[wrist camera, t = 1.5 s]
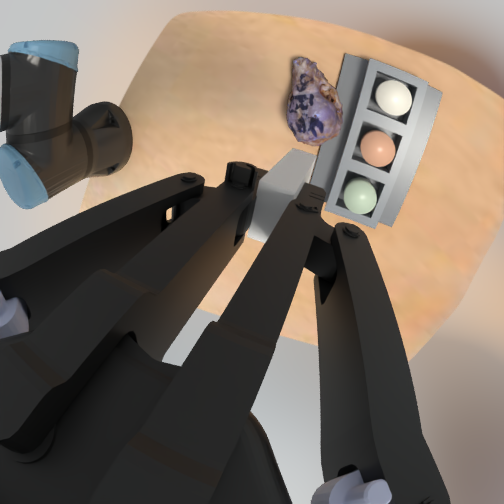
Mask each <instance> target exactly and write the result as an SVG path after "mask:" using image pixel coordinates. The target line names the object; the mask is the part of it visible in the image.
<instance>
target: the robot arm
mask: <svg viewBox="0 0 504 504" xmlns="http://www.w3.org/2000/svg"><path fill="white" fill-rule="evenodd" d="M78 54H79V49H78V47H77V45H76V44H74V43H72V42H67V41H55V40H39V41H26V42H16V43H13V44H12V45H11V46H10V48H9V50H8V54H4V55H0V132H2V131H5V130H6V144H3V145H2V146H1V147H0V179H1V181H2V183H3V186H4V188H5V190H6V191H7V193H8V195H9V196H10V198H11V199H12V200H13V201H14V202H15V203H16V204H17V205H18V206H19V207H21V208H23V209H32V208H34V207H36V206H37V205H40V204H42V203H44V202H46V201H48V199H50V198H51V197H53V196H55V195H56V194H58V193H60V192H61V191H63V190H65V189H67V188H68V187H70V186H72V185H74V184H75V183H77V182H79V181H81V180H83V179H85V178H88V177H99V176H108V175H111V174H113V173H115V172H117V171H119V170H120V169H122V168H123V167H124V166H125V165H126V163H127V162H128V160H129V157H130V154H131V150H132V132H131V127H130V124H129V121H128V119H127V117H126V115H125V114H124V112H123V111H122V110H121V109H120V108H119V107H118V106H117V105H115V104H113V103H110V102H99V103H95V104H92V105H90V106H88V107H86V108H85V109H84V110H82V111H81V112H80V113H78V114H77V115H75V116H74V117H73V103H74V92H75V83H76V75H77V72H78V68H77V64H78ZM316 157H317V155H314V154H310V153H307V152H304V151H301V150H298V149H294V148H293V149H292V150H291V151H289V152H288V153H287V154H286V155H285V156H284V157H283V158H282V159H281V160H280V161H279V162H278V163H277V164H276V165H275V166H274V167H273V168H272V169H271V170H270V171H266V170H263V169H259V168H257V167H256V166H254V165H252V164H249V163H245V162H237V161H236V162H229V163H227V170H226V176H225V181H224V182H223V183H222V184H220V185H219V186H218V187H217V188H215V187H207V186H204V183H205V179H204V177H202V176H201V175H198V174H196V173H192V172H188V173H181V174H177V175H174V176H171V177H169V178H166V179H163V180H160V181H157V182H155V183H152V184H149V185H147V186H144V187H141V188H139V189H136V190H133V191H131V192H128V193H126V194H123V195H121V196H118V197H116V198H114V199H111V200H109V201H106V202H104V203H102V204H99V205H97V206H95V207H92V208H90V209H88V210H86V211H83V212H81V213H79V214H77V215H75V216H73V217H70V218H68V219H66V220H64V221H62V222H60V223H58V224H56V225H54V226H52V227H50V228H48V229H46V230H44V231H42V232H40V233H38V234H37V235H34V236H32V237H30V238H29V239H27V240H25V241H23V242H21V243H20V244H18V245H16V246H14V247H12V248H10V249H7V250H4V251H1V252H0V504H292V501H291V499H290V496H289V493H288V491H287V488H286V486H285V483H284V480H283V478H282V475H281V472H280V470H279V467H278V464H277V462H276V459H275V456H274V453H273V450H272V448H271V445H270V442H269V439H268V437H267V435H266V433H265V431H264V429H263V427H262V425H261V424H260V423H259V422H258V420H257V418H256V417H255V416H254V415H253V414H252V413H251V411H250V410H251V408H252V406H253V403H254V401H255V399H256V396H257V394H258V391H259V389H260V386H261V384H262V381H263V379H264V376H265V374H266V371H267V369H268V366H269V364H270V361H271V359H272V356H273V353H274V351H275V348H276V343H277V340H278V338H279V335H280V332H281V330H282V327H283V324H284V321H285V319H286V316H287V313H288V311H289V308H290V305H291V302H292V299H293V297H294V294H295V291H296V288H297V285H298V282H299V279H300V276H301V274H302V271H303V268H304V267H305V268H306V269H308V270H310V271H311V272H313V273H314V274H315V276H314V290H315V303H316V316H317V331H318V349H319V371H320V406H321V465H322V471H323V477H324V482H325V483H324V484H322V485H321V486H320V487H319V488H318V489H317V490H316V492H315V493H314V495H313V497H312V500H311V504H450V498H449V495H448V492H447V489H446V487H445V485H444V482H443V480H442V477H441V475H440V472H439V470H438V468H437V466H436V463H435V461H434V459H433V457H432V454H431V452H430V450H429V447H428V445H427V443H426V441H425V439H424V437H423V434H422V429H421V423H420V417H419V411H418V406H417V401H416V396H415V391H414V386H413V382H412V377H411V373H410V369H409V365H408V360H407V357H406V353H405V349H404V345H403V341H402V338H401V334H400V331H399V327H398V324H397V321H396V317H395V314H394V311H393V308H392V305H391V301H390V298H389V295H388V292H387V289H386V287H385V284H384V281H383V278H382V275H381V272H380V270H379V267H378V264H377V261H376V259H375V256H374V254H373V251H372V248H371V246H370V243H369V241H368V238H367V236H366V234H365V233H364V232H363V231H362V230H361V229H360V228H359V227H357V226H356V225H354V224H349V223H344V222H341V223H337V224H336V225H335V227H332V226H330V225H329V224H327V223H326V222H325V221H324V220H323V219H322V218H321V210H322V206H323V203H324V200H325V196H326V192H325V190H324V189H323V188H321V187H318V186H315V185H312V184H309V181H310V178H311V174H312V171H313V168H314V164H315V161H316ZM171 207H172V219H170V220H166V210H168V209H169V208H171ZM248 228H249V231H248V236H247V237H249V238H252V239H255V240H257V241H260V242H263V243H265V244H264V246H263V247H262V249H261V251H260V252H259V254H258V256H257V257H256V259H255V261H254V262H253V264H252V266H251V267H250V269H249V271H248V272H247V274H246V276H245V277H244V279H243V281H242V282H241V284H240V286H239V287H238V289H237V291H236V292H235V294H234V296H233V297H232V299H231V301H230V302H229V304H228V305H227V307H226V309H225V310H224V312H223V314H222V315H221V317H220V319H219V320H218V321H217V322H215V321H212V322H210V323H209V324H208V326H207V327H206V328H205V330H204V331H203V333H202V335H201V336H200V338H199V339H198V341H197V342H196V344H195V346H194V347H193V349H192V351H191V352H190V353H189V355H188V357H187V358H186V360H185V361H184V363H183V365H182V366H176V365H172V364H168V363H164V362H162V359H163V357H164V355H165V353H166V351H167V350H168V349H169V347H170V346H171V344H172V343H173V341H174V340H175V338H176V337H177V336H178V334H179V333H180V331H181V330H182V328H183V327H184V325H185V324H186V323H187V321H188V320H189V318H190V317H191V315H192V314H193V313H194V311H195V309H196V308H197V307H198V305H199V304H200V303H201V301H202V300H203V298H204V297H205V295H206V294H207V293H208V291H209V290H210V288H211V287H212V285H213V284H214V283H215V281H216V280H217V278H218V277H219V275H220V274H221V273H222V271H223V270H224V268H225V267H226V266H227V264H228V263H229V261H230V260H231V259H232V257H233V256H234V254H235V253H236V252H237V250H238V249H239V247H240V246H241V244H242V243H243V241H244V237H245V232H246V231H247V229H248Z"/></svg>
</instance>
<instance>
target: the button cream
mask: <svg viewBox="0 0 504 504" xmlns="http://www.w3.org/2000/svg"><path fill="white" fill-rule="evenodd" d="M375 100H376V103H377V105H378V106H379V107H380V108H381V109H382V110H383V111H385V112H386V113H388V114H391V115H395V116H399V115H403V114H405V113H406V112H407V111H408V110H409V109H410V107H411V104H412V97H411V93H410V91H409V90H408V88H407V87H406V86H405V85H404V84H402V83H400V82H398V81H394V80H389V81H385V82H382V83H381V84H379V85H378V87H377V88H376V90H375Z"/></svg>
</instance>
